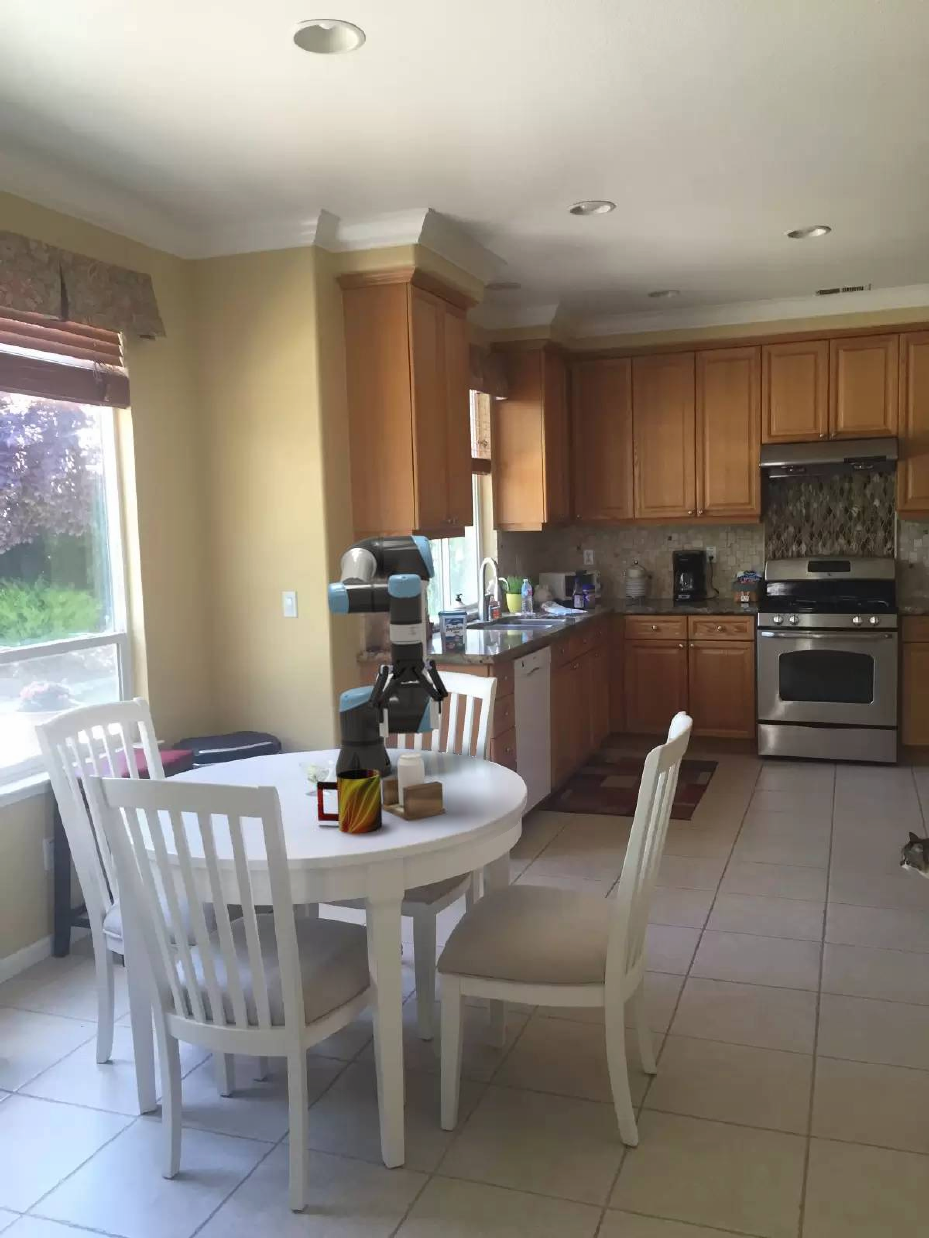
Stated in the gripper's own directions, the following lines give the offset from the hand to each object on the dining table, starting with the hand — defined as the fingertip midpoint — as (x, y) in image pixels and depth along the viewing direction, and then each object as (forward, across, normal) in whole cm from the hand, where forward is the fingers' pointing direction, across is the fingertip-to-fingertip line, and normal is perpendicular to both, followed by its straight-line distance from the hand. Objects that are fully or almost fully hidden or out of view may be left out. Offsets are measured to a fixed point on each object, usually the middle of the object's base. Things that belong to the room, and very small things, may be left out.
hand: (409, 732), depth 238 cm
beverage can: (+17, 0, 0) cm, 17 cm away
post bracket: (+18, 0, 0) cm, 19 cm away
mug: (+18, -18, -4) cm, 26 cm away
